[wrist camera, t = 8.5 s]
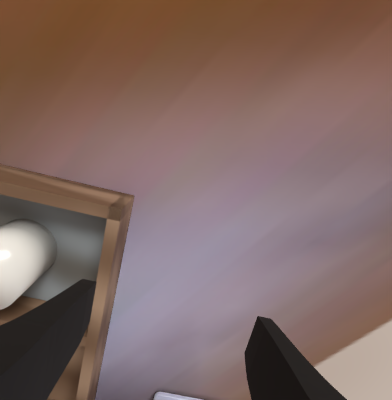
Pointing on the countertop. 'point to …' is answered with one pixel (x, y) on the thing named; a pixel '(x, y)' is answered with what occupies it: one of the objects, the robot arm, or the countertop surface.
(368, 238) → the countertop surface
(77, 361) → the bin
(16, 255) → the white rounded egg-shaped piece
